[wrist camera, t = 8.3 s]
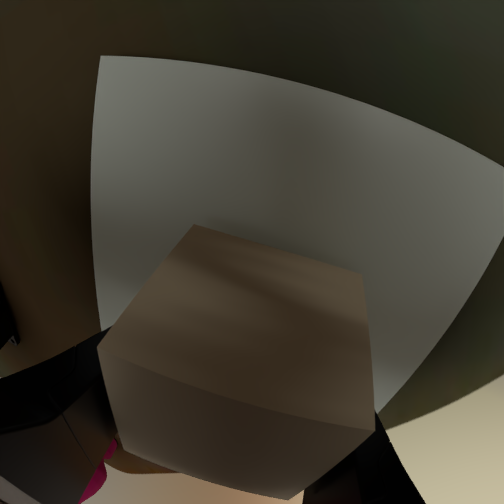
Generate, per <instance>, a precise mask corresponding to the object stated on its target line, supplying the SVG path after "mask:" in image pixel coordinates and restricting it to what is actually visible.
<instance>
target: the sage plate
mask: <svg viewBox="0 0 504 504" xmlns="http://www.w3.org/2000/svg"><path fill="white" fill-rule="evenodd" d="M193 224H196V225H199V226H202V227H206V228H209V229H213V230H216V231H219V232H223V233H226V234H230V235H233V236H236V237H240V238H243V239H247V240H250V241H253V242H257V243H260V244H263V245H267V246H270V247H273V248H277V249H280V250H283V251H287V252H290V253H293V254H297V255H300V256H303V257H307V258H310V259H313V260H317V261H320V262H323V263H327V264H330V265H333V266H337V267H340V268H343V269H346V270H350V271H353V272H356V273H359V274H362V278H363V285H364V293H365V301H366V309H367V317H368V327H369V336H370V347H371V359H372V372H373V387H374V408H375V411H376V413H378V412H379V411H380V410H381V409H382V408H383V407H384V406H385V405H386V404H387V403H388V402H389V400H390V399H391V398H392V397H393V396H394V395H395V394H396V393H397V392H398V390H399V389H400V388H401V387H402V386H403V385H404V384H405V382H406V381H407V380H408V379H409V378H410V377H411V375H412V374H413V373H414V372H415V371H416V369H417V368H418V367H419V366H420V364H421V363H422V362H423V361H424V359H425V358H426V357H427V356H428V354H429V353H430V352H431V350H432V349H433V348H434V346H435V345H436V344H437V343H438V341H439V340H440V338H441V337H442V336H443V334H444V333H445V332H446V330H447V329H448V327H449V326H450V325H451V323H452V322H453V320H454V319H455V317H456V316H457V314H458V313H459V311H460V310H461V308H462V307H463V305H464V304H465V302H466V301H467V299H468V298H469V296H470V295H471V293H472V291H473V290H474V288H475V286H476V285H477V283H478V282H479V280H480V278H481V277H482V275H483V273H484V271H485V270H486V268H487V266H488V264H489V263H490V261H491V259H492V257H493V255H494V254H495V252H496V250H497V248H498V246H499V244H500V242H501V240H502V238H503V236H504V167H503V166H501V165H499V164H497V163H496V162H494V161H492V160H490V159H489V158H487V157H485V156H483V155H481V154H480V153H478V152H476V151H474V150H472V149H470V148H468V147H466V146H464V145H462V144H460V143H458V142H456V141H454V140H452V139H450V138H448V137H446V136H444V135H442V134H440V133H438V132H436V131H433V130H431V129H429V128H427V127H424V126H422V125H420V124H418V123H415V122H413V121H411V120H408V119H406V118H403V117H401V116H398V115H396V114H393V113H391V112H388V111H385V110H383V109H380V108H377V107H375V106H372V105H369V104H366V103H364V102H361V101H358V100H355V99H352V98H349V97H346V96H343V95H339V94H336V93H333V92H330V91H326V90H323V89H320V88H316V87H313V86H309V85H305V84H302V83H298V82H294V81H290V80H286V79H282V78H278V77H273V76H269V75H264V74H260V73H255V72H250V71H245V70H240V69H234V68H229V67H223V66H216V65H210V64H203V63H196V62H188V61H179V60H170V59H159V58H147V57H130V56H101V58H100V65H99V72H98V80H97V88H96V97H95V107H94V118H93V132H92V151H91V227H92V247H93V261H94V273H95V283H96V293H97V301H98V309H99V317H100V324H101V330H102V331H103V330H105V329H107V328H109V327H110V326H112V325H114V323H115V322H116V321H117V319H118V318H119V317H120V315H121V314H122V313H123V311H124V310H125V309H126V307H127V306H128V305H129V304H130V302H131V301H132V300H133V298H134V297H135V296H136V295H137V293H138V292H139V291H140V289H141V288H142V287H143V286H144V284H145V283H146V282H147V281H148V279H149V278H150V277H151V276H152V274H153V273H154V272H155V271H156V269H157V268H158V267H159V266H160V264H161V263H162V262H163V261H164V259H165V258H166V257H167V256H168V255H169V253H170V252H171V251H172V250H173V248H174V247H175V246H176V245H177V244H178V242H179V241H180V240H181V239H182V238H183V236H184V235H185V234H186V233H187V232H188V230H189V229H190V228H191V227H192V226H193Z"/></svg>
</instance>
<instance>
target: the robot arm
mask: <svg viewBox="0 0 504 504" xmlns="http://www.w3.org/2000/svg"><path fill="white" fill-rule="evenodd" d="M112 326H113V325H112ZM112 326H110V327H109V328H107V329H105V330H103V331H101V332H99V333H98V334H96V335H94V336H92V337H90V338H88V339H87V340H85V341H83V342H81V343H79V344H77V345H76V347H75V346H74V347H72V348H70V349H68V350H66V351H64V352H62V353H60V354H59V355H57V356H55V357H53V358H51V359H48V360H46V361H44V362H41V363H39V364H37V365H34V366H32V367H29V368H27V369H24V370H22V371H19V372H17V373H14V374H12V375H9V376H7V377H4V378H0V504H78V502H79V500H80V498H81V497H82V495H83V493H84V491H85V489H86V487H87V486H88V484H89V482H90V480H91V478H92V477H93V475H94V473H95V471H96V469H97V467H98V466H99V464H100V462H101V460H102V458H103V457H104V455H105V453H106V451H107V449H108V448H109V446H110V444H111V442H112V441H113V439H114V437H115V435H116V434H117V432H118V430H117V427H116V423H115V420H114V416H113V413H112V409H111V406H110V402H109V398H108V394H107V390H106V386H105V382H104V378H103V374H102V369H101V365H100V360H99V355H98V350H97V346H98V345H99V343H100V342H101V341H102V339H103V338H104V337H105V335H106V334H107V333H108V331H109V330H110V329H111V327H112ZM8 341H9V342H10V343H12V344H13V345H15V346H17V345H18V344H19V343H20V341H19V338H18V336H17V333H16V331H15V328H14V325H13V323H12V320H11V317H10V314H9V312H8V309H7V306H6V303H5V300H4V297H3V294H2V290H1V287H0V349H1V348H2V347H3V346H4V345H5V344H6V343H7V342H8ZM302 504H426V503H425V501H424V500H423V498H422V497H421V495H420V493H419V492H418V490H417V488H416V487H415V485H414V484H413V482H412V481H411V479H410V477H409V476H408V474H407V472H406V470H405V469H404V467H403V465H402V463H401V461H400V459H399V457H398V455H397V454H396V452H395V450H394V447H393V445H392V443H391V442H390V440H389V437H388V435H387V433H386V431H385V429H384V427H383V425H382V423H381V421H380V419H379V417H378V415H377V413H376V411H375V431H374V432H373V433H372V434H371V435H370V436H369V437H368V438H367V439H366V440H365V441H364V442H362V443H361V444H360V445H359V446H358V447H357V448H356V449H355V450H353V451H352V452H351V453H350V454H349V455H347V456H346V457H345V458H344V459H343V460H342V461H340V462H339V463H338V464H337V465H335V466H334V467H333V468H332V469H330V470H329V471H328V472H327V473H325V474H324V475H323V476H321V477H320V478H319V479H317V480H316V481H315V482H313V483H312V484H311V485H309V486H308V487H307V488H305V489H304V496H303V503H302Z"/></svg>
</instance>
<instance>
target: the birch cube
mask: <svg viewBox="0 0 504 504" xmlns="http://www.w3.org/2000/svg"><path fill="white" fill-rule="evenodd" d="M97 350H98V355H99V360H100V365H101V369H102V374H103V378H104V382H105V386H106V390H107V394H108V398H109V402H110V406H111V409H112V413H113V416H114V420H115V423H116V427H117V430H118V433H119V436H120V439H121V443H122V446H123V449H124V450H125V451H127V452H130V453H132V454H134V455H137V456H139V457H141V458H144V459H146V460H149V461H151V462H154V463H156V464H159V465H161V466H164V467H167V468H169V469H172V470H175V471H178V472H180V473H183V474H186V475H190V476H192V477H195V478H198V479H202V480H205V481H208V482H211V483H215V484H219V485H222V486H226V487H229V488H233V489H237V490H241V491H245V492H249V493H254V494H259V495H263V496H268V497H273V498H278V499H284V500H289V499H291V498H292V497H294V496H295V495H297V494H298V493H300V492H301V491H302V490H304V489H305V488H307V487H308V486H309V485H311V484H312V483H313V482H315V481H316V480H317V479H319V478H320V477H321V476H323V475H324V474H325V473H327V472H328V471H329V470H330V469H332V468H333V467H334V466H335V465H337V464H338V463H339V462H340V461H342V460H343V459H344V458H345V457H346V456H347V455H349V454H350V453H351V452H352V451H353V450H355V449H356V448H357V447H358V446H359V445H360V444H361V443H362V442H364V441H365V440H366V439H367V438H368V437H369V436H370V435H371V434H372V433H373V432H374V431H375V408H374V387H373V372H372V359H371V347H370V336H369V327H368V317H367V309H366V301H365V293H364V285H363V278H362V274H359V273H356V272H353V271H350V270H346V269H343V268H340V267H337V266H333V265H330V264H327V263H323V262H320V261H317V260H313V259H310V258H307V257H303V256H300V255H297V254H293V253H290V252H287V251H283V250H280V249H277V248H273V247H270V246H267V245H263V244H260V243H257V242H253V241H250V240H247V239H243V238H240V237H236V236H233V235H230V234H226V233H223V232H219V231H216V230H213V229H209V228H206V227H202V226H199V225H196V224H193V226H192V227H191V228H190V229H189V230H188V232H187V233H186V234H185V235H184V236H183V238H182V239H181V240H180V241H179V242H178V244H177V245H176V246H175V247H174V248H173V250H172V251H171V252H170V253H169V255H168V256H167V257H166V258H165V259H164V261H163V262H162V263H161V264H160V266H159V267H158V268H157V269H156V271H155V272H154V273H153V274H152V276H151V277H150V278H149V279H148V281H147V282H146V283H145V284H144V286H143V287H142V288H141V289H140V291H139V292H138V293H137V295H136V296H135V297H134V298H133V300H132V301H131V302H130V304H129V305H128V306H127V307H126V309H125V310H124V311H123V313H122V314H121V315H120V317H119V318H118V319H117V321H116V322H115V323H114V325H113V326H112V327H111V329H110V330H109V331H108V333H107V334H106V335H105V337H104V338H103V339H102V341H101V342H100V343H99V345H98V346H97Z"/></svg>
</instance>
